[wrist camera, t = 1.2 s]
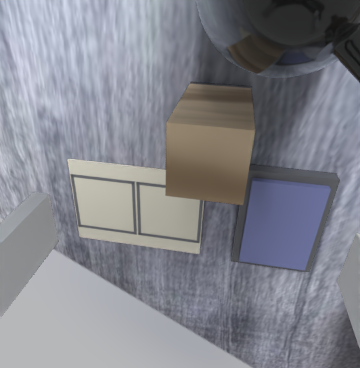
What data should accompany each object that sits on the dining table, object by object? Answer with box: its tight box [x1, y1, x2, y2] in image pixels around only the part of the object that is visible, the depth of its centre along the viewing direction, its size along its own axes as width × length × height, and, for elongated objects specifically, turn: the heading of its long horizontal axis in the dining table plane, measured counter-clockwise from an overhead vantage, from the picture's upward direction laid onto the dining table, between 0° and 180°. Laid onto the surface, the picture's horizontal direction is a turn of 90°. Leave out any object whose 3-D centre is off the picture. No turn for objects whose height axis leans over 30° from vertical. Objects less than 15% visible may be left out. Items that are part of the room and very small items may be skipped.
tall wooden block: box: [165, 82, 255, 205], centre depth 24 cm, size 5×5×10 cm
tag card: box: [68, 159, 204, 254], centre depth 34 cm, size 10×14×1 cm
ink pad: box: [231, 164, 340, 272], centre depth 31 cm, size 11×8×2 cm
